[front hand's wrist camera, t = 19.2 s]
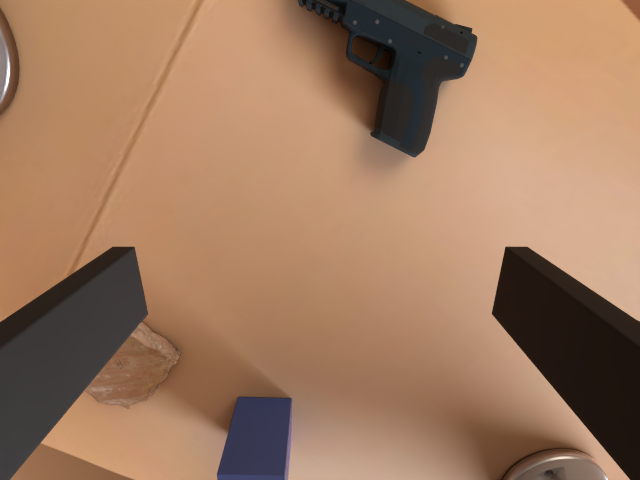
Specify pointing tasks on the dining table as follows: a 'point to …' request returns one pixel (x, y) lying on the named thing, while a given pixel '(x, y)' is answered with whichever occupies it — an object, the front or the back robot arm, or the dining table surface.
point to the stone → (134, 369)
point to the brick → (258, 440)
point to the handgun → (403, 61)
